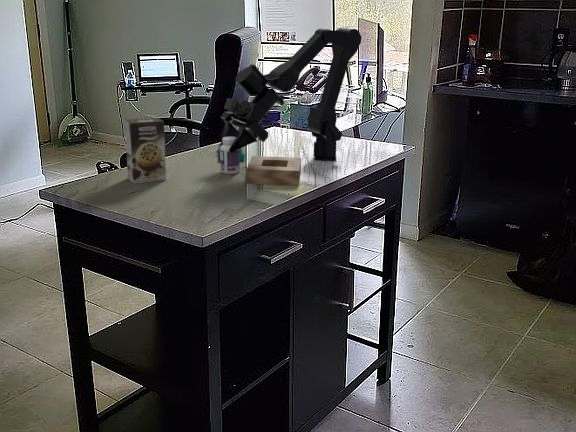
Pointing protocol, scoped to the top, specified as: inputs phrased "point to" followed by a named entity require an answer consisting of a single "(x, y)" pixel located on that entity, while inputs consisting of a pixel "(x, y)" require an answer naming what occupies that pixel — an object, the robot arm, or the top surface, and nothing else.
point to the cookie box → (145, 150)
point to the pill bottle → (229, 157)
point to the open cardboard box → (273, 170)
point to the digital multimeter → (239, 153)
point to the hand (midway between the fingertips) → (225, 149)
